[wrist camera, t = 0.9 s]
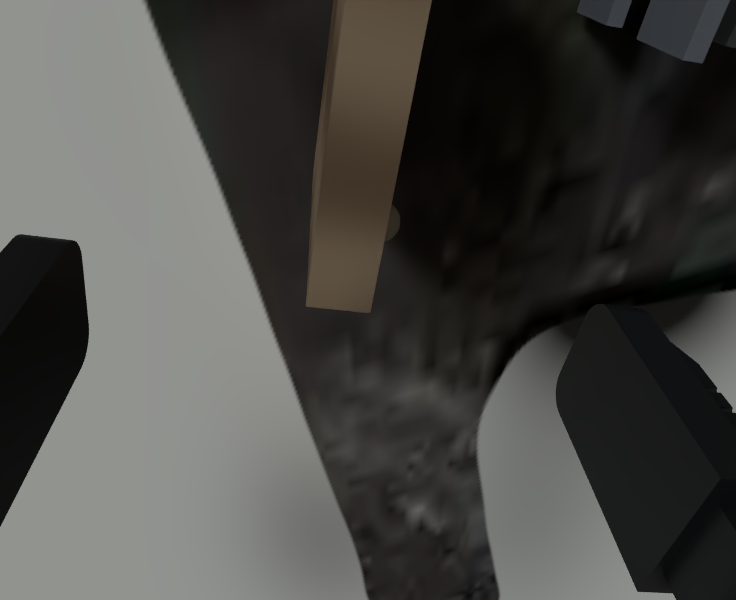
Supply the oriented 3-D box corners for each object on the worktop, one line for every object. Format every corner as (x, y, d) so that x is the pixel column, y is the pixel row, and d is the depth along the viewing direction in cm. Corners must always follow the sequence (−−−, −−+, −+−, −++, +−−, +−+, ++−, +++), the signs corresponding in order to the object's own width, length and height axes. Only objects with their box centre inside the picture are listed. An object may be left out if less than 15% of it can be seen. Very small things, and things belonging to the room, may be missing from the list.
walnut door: (350, -148, 22) (367, -182, 12) (441, -129, 22) (523, -149, 13) (312, 172, 28) (305, 306, 19) (383, 182, 28) (410, 317, 19)
